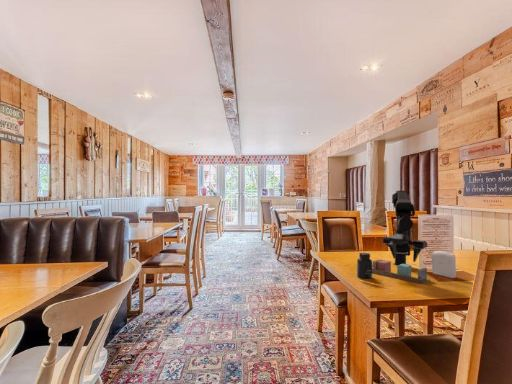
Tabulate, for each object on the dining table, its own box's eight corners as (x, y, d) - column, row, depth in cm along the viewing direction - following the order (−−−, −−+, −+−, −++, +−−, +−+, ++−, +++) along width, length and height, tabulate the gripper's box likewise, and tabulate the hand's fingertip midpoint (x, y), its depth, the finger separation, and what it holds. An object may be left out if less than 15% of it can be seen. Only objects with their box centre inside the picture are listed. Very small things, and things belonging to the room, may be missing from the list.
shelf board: (381, 270, 151) (381, 258, 151) (431, 280, 132) (431, 267, 132) (370, 273, 144) (370, 261, 144) (422, 285, 125) (422, 271, 125)
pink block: (383, 270, 148) (383, 260, 148) (390, 272, 144) (390, 261, 145) (377, 272, 144) (377, 261, 144) (385, 274, 141) (385, 263, 141)
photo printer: (430, 274, 143) (430, 249, 143) (435, 273, 145) (435, 249, 145) (452, 279, 134) (452, 253, 134) (457, 278, 136) (457, 252, 136)
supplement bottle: (370, 281, 132) (370, 255, 132) (355, 278, 135) (355, 253, 135) (373, 277, 137) (373, 252, 138) (358, 275, 141) (358, 251, 141)
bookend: (424, 278, 133) (424, 267, 133) (429, 280, 131) (429, 268, 131) (417, 281, 128) (417, 269, 128) (423, 283, 127) (423, 271, 127)
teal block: (402, 274, 140) (402, 263, 140) (411, 276, 137) (411, 265, 137) (397, 277, 136) (397, 265, 136) (405, 278, 133) (405, 267, 133)
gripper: (377, 227, 139) (377, 259, 138) (417, 231, 124) (418, 266, 124) (387, 225, 146) (388, 255, 145) (427, 229, 131) (428, 262, 131)
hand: (404, 260), depth 136 cm, fingers open, 9 cm apart
